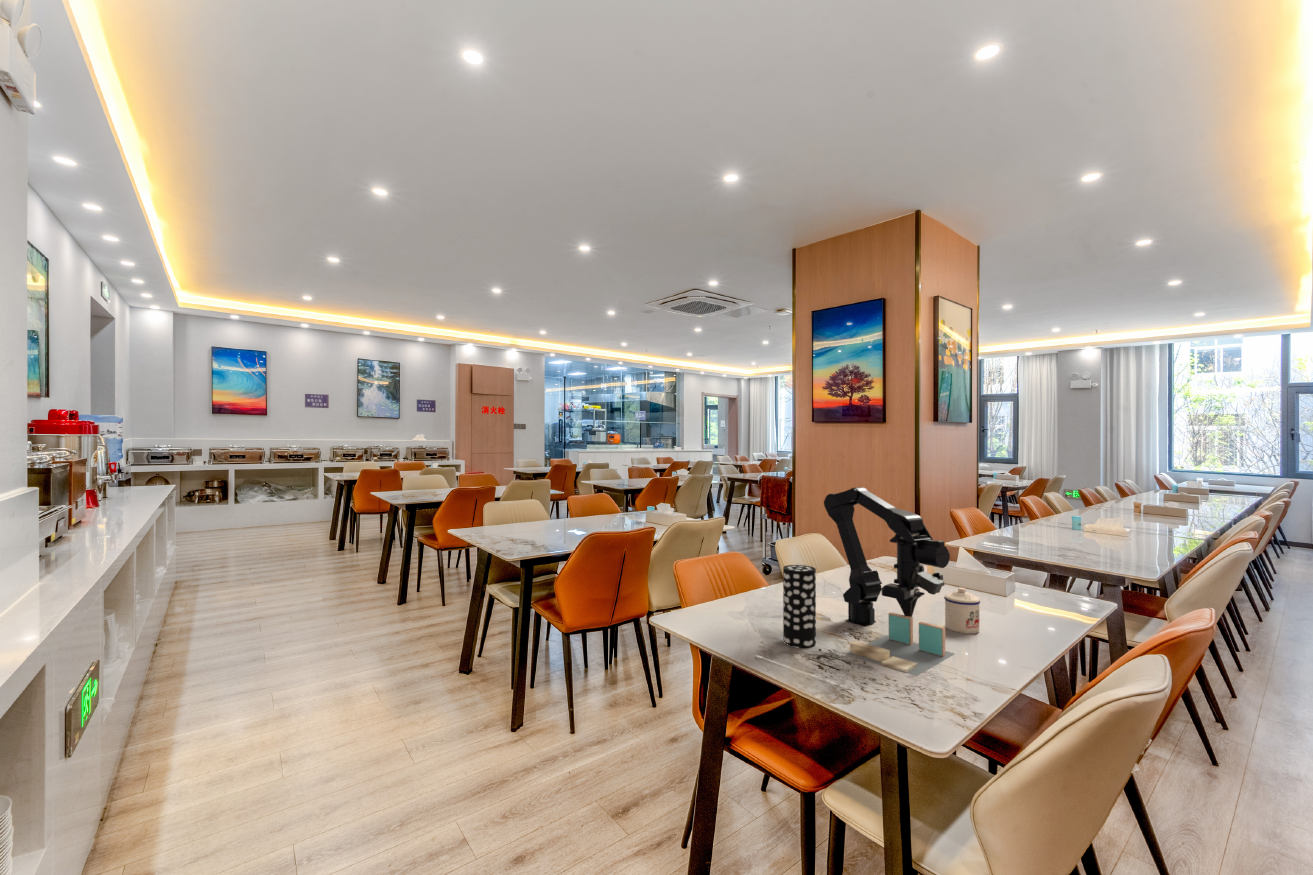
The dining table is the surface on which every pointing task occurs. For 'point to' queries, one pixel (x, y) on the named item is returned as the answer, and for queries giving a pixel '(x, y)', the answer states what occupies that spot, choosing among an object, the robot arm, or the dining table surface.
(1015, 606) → the dining table surface
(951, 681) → the dining table surface
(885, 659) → the cream stepped block
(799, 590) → the spotted tube
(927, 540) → the robot arm
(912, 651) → the mat
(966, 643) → the dining table surface
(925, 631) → the tile right
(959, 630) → the teacup with lid
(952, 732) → the dining table surface
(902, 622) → the tile left
